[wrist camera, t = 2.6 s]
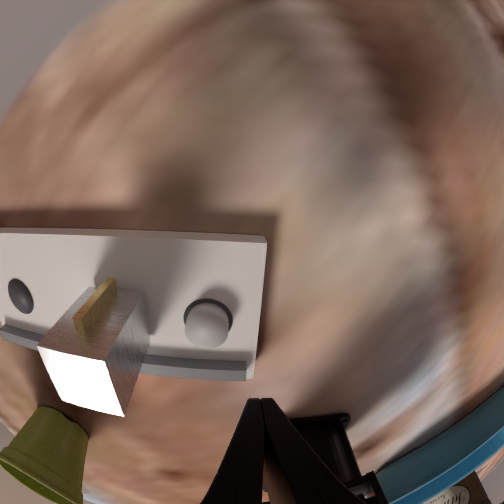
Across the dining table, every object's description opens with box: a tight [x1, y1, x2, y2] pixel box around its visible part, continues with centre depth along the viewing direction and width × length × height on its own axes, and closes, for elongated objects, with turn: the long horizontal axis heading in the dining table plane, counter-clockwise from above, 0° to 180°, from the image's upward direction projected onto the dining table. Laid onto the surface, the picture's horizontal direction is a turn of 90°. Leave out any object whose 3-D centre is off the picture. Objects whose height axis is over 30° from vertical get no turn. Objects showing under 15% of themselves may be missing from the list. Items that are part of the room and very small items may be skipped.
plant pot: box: [0, 406, 88, 504], centre depth 14 cm, size 9×9×9 cm
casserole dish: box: [366, 386, 504, 504], centre depth 23 cm, size 37×22×7 cm, turn 113°
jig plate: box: [0, 227, 267, 381], centre depth 13 cm, size 18×8×2 cm, turn 86°
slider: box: [37, 277, 151, 417], centre depth 10 cm, size 3×4×5 cm
